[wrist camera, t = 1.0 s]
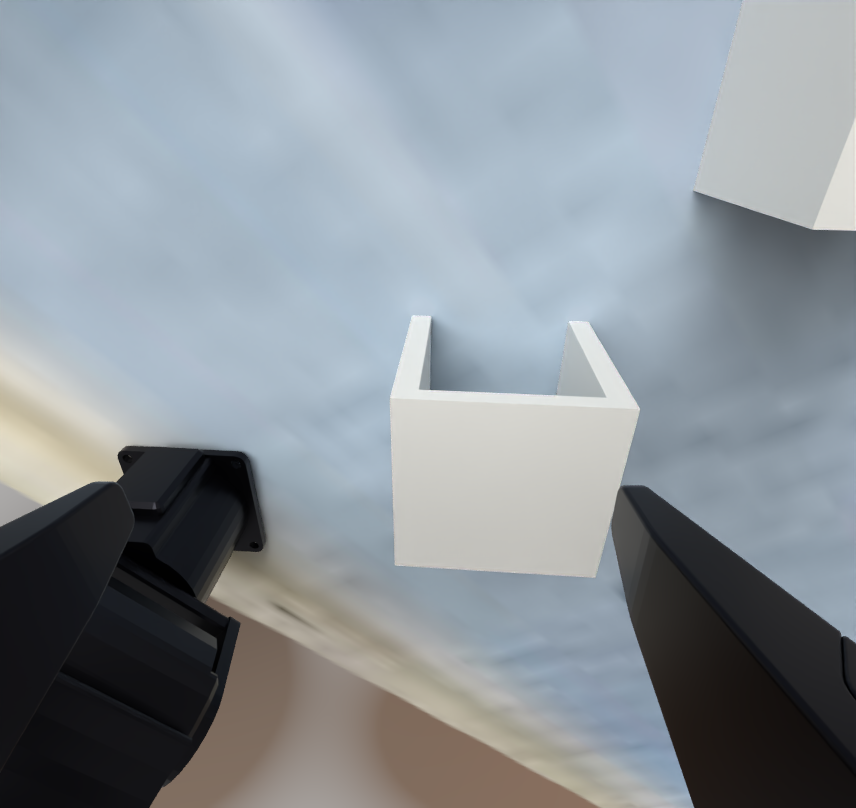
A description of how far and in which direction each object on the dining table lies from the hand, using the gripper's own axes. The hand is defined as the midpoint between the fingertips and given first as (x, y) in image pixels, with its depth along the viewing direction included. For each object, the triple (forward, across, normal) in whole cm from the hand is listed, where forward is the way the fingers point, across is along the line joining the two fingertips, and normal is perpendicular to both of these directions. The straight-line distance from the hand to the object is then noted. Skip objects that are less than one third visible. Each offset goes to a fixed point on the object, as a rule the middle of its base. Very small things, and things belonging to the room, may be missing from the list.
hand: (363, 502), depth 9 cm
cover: (+13, -3, +5) cm, 14 cm away
